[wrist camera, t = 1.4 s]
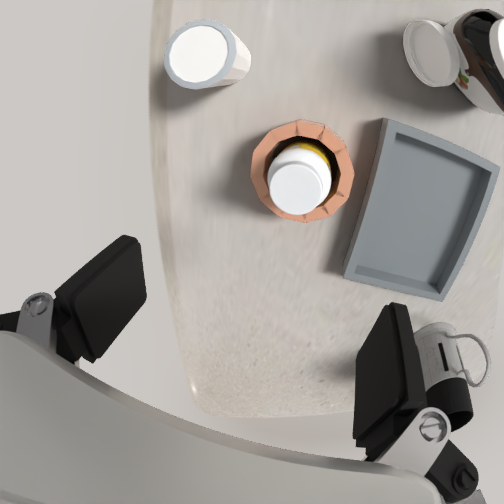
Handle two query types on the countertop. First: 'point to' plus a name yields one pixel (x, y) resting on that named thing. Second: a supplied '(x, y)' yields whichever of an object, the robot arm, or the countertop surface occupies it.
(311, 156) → the supplement bottle
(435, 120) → the countertop surface
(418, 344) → the glass holder
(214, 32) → the white tapered cup
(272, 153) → the terracotta faceted ring
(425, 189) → the tray
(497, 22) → the spread jar
